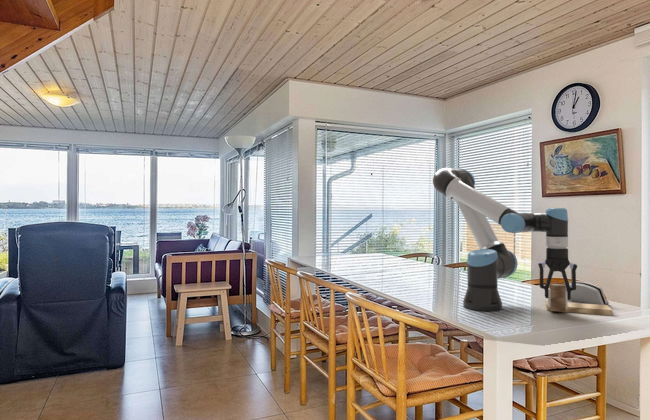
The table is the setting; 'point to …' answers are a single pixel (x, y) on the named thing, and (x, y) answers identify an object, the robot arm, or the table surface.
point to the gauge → (558, 297)
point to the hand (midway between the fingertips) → (557, 307)
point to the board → (586, 308)
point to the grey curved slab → (588, 293)
